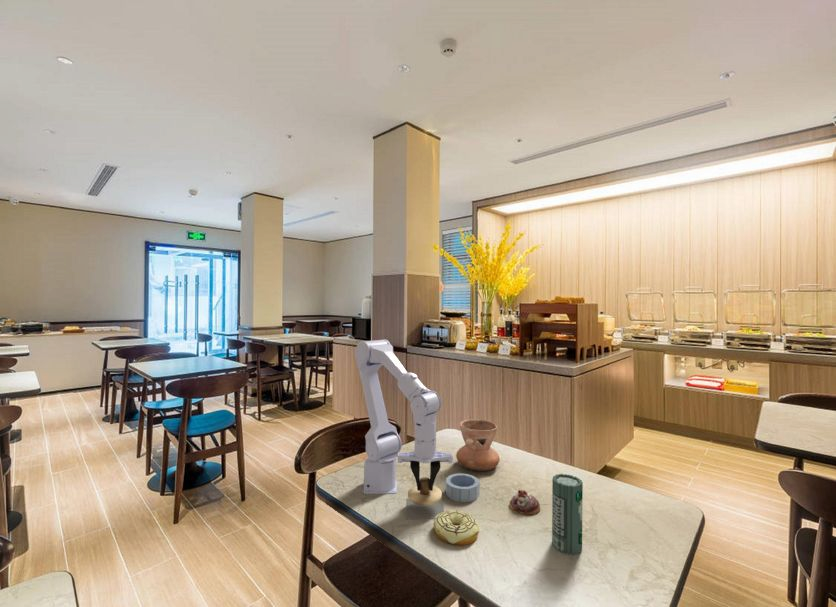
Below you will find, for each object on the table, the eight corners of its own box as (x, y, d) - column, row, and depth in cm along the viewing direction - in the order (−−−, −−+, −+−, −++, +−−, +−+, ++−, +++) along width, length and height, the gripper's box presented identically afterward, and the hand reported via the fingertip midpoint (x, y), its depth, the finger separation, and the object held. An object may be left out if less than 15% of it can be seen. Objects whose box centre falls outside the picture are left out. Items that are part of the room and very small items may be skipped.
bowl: (447, 503, 105) (447, 488, 105) (444, 486, 115) (444, 473, 115) (481, 503, 105) (481, 488, 105) (476, 486, 115) (476, 473, 115)
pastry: (507, 512, 101) (507, 493, 101) (511, 498, 108) (511, 481, 108) (539, 518, 99) (539, 499, 98) (541, 504, 106) (541, 486, 106)
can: (587, 551, 85) (587, 484, 85) (564, 556, 84) (564, 488, 83) (569, 535, 91) (569, 472, 91) (547, 539, 89) (547, 475, 89)
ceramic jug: (489, 481, 119) (490, 435, 119) (447, 469, 126) (448, 426, 126) (507, 461, 134) (507, 420, 134) (468, 452, 141) (469, 414, 142)
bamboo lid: (407, 505, 97) (407, 487, 97) (408, 488, 106) (408, 472, 106) (443, 505, 98) (443, 487, 98) (440, 488, 107) (440, 471, 107)
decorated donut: (453, 555, 84) (453, 538, 84) (425, 531, 93) (425, 515, 93) (487, 538, 90) (487, 522, 90) (457, 517, 99) (457, 502, 99)
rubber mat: (405, 520, 97) (405, 519, 97) (406, 500, 107) (406, 498, 107) (445, 520, 97) (445, 518, 97) (442, 500, 107) (442, 498, 107)
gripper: (397, 443, 98) (397, 496, 98) (454, 444, 98) (453, 496, 98) (398, 433, 105) (398, 483, 105) (451, 434, 105) (450, 483, 105)
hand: (424, 488), depth 102 cm, fingers closed on bamboo lid, 3 cm apart
